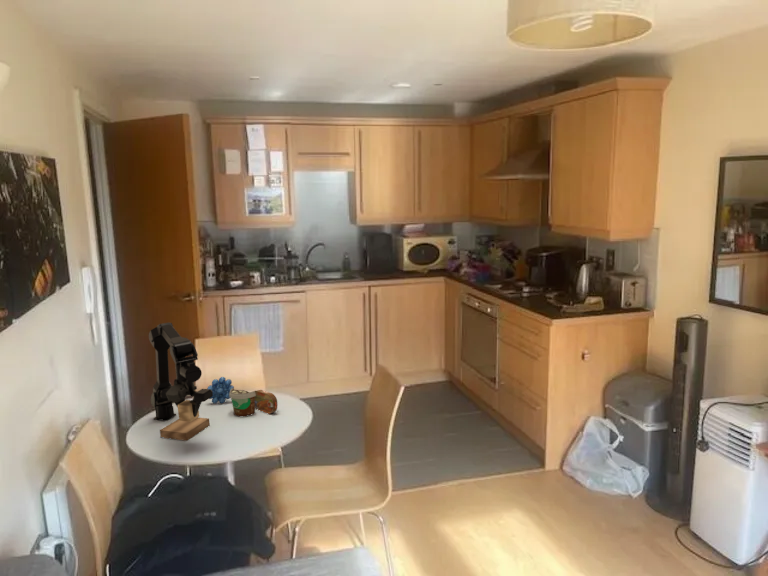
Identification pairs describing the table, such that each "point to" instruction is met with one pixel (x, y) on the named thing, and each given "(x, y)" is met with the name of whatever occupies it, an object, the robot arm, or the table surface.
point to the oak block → (186, 411)
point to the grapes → (220, 389)
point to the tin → (265, 401)
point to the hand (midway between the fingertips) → (189, 415)
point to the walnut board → (184, 429)
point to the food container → (242, 402)
